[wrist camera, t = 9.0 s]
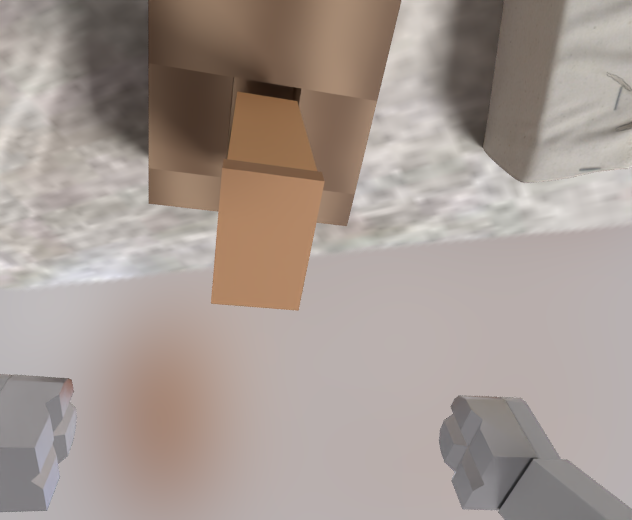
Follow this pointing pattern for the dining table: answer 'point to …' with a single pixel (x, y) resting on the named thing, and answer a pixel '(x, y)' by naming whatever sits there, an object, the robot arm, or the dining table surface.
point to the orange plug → (266, 206)
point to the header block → (262, 87)
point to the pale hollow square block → (562, 89)
